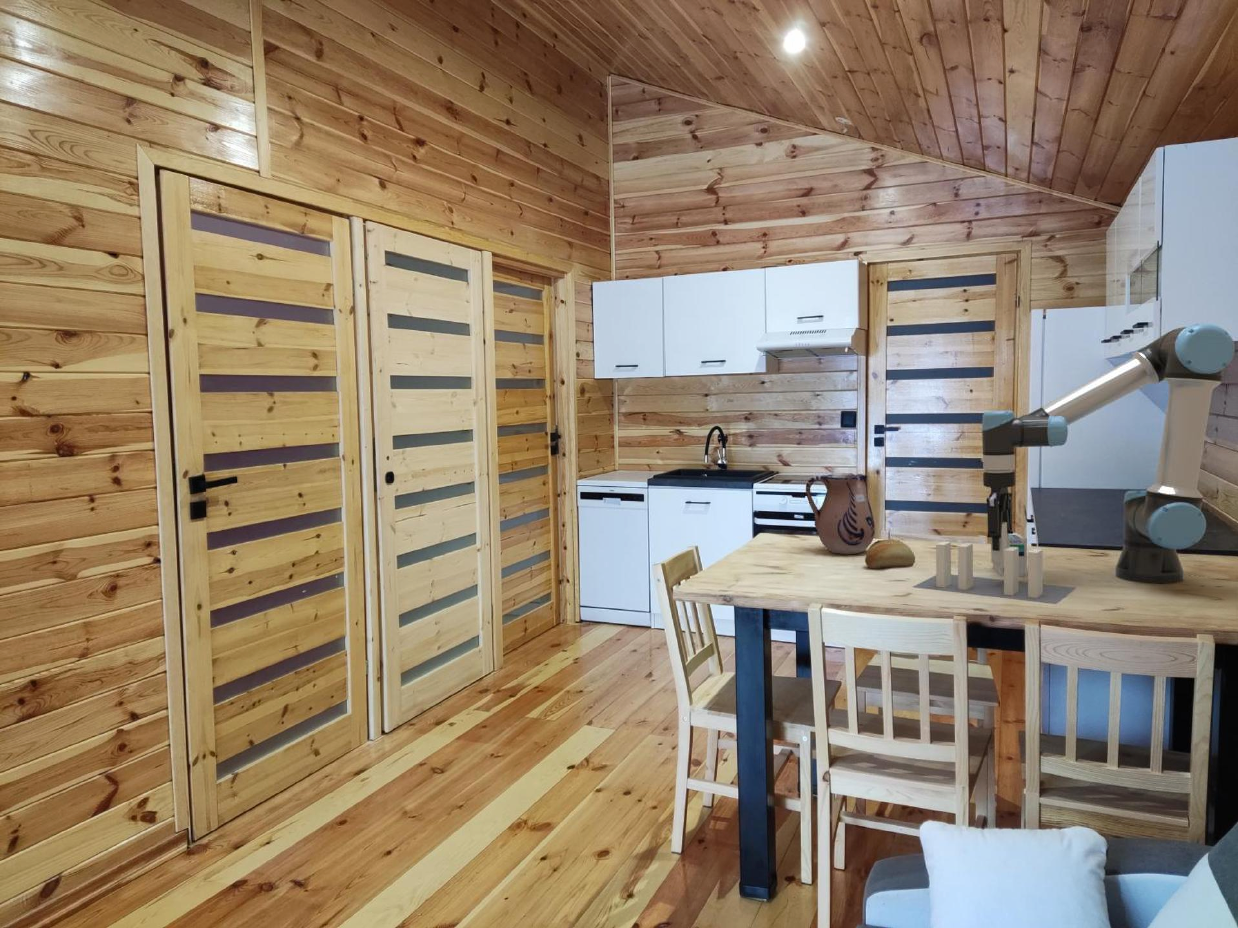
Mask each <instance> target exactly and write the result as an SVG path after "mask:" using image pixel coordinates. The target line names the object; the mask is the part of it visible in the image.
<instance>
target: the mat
mask: <svg viewBox="0 0 1238 928" xmlns="http://www.w3.org/2000/svg"><path fill="white" fill-rule="evenodd" d="M912 588H917V589H924V590H933V591H942V592H949V593H950V592H951V593H956V594H957V593H958V594H967V595H968V594H969V595H976V596H983V597H993V598H1001V599H1008V600H1018V601H1024V602H1025V601H1026V602H1035V603H1044V604H1053V605H1057V604H1058V603H1059V602H1061V601H1062V600H1063V599H1064V598H1066V597H1067V596H1068V595H1069V594H1071V593H1073V591H1074V590H1076V589H1077V587H1075V586H1074V587H1073V586H1065V585H1064V586H1063V585H1056V584H1046V583H1043V594H1042V595H1041V596H1039V597H1038V598H1030V597H1028V581H1027V582H1026V581H1019V592H1017V593H1016V594H1014V595H1004V579H999V578H989V577H987V578H986V577H979V576H973V587H971V588H969V589H967V590H961V589H958V574H952V573H951V584H950V585H948V586H946V587H936V574H935V575H934V576H931V577H929V578H928V579H926V580H923V581H921V582H920V583H917V584H915V585H914V586H912Z"/></svg>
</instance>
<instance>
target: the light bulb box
mask: <svg viewBox="0 0 1238 928" xmlns="http://www.w3.org/2000/svg"><path fill="white" fill-rule="evenodd" d="M1027 543H1028V539H1027V538H1026V537H1024V536H1022V535H1020V534H1019V533H1017V532H1013V534H1010V547H1017V548H1019V577H1028V552H1027V551H1028V550H1027V549H1028V545H1027ZM992 569H993V570H994V571H995V572H996V573H997V574H999V575H1000V576H1001V577H1004V567H1002V568H1000V567H994V563H992Z"/></svg>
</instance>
